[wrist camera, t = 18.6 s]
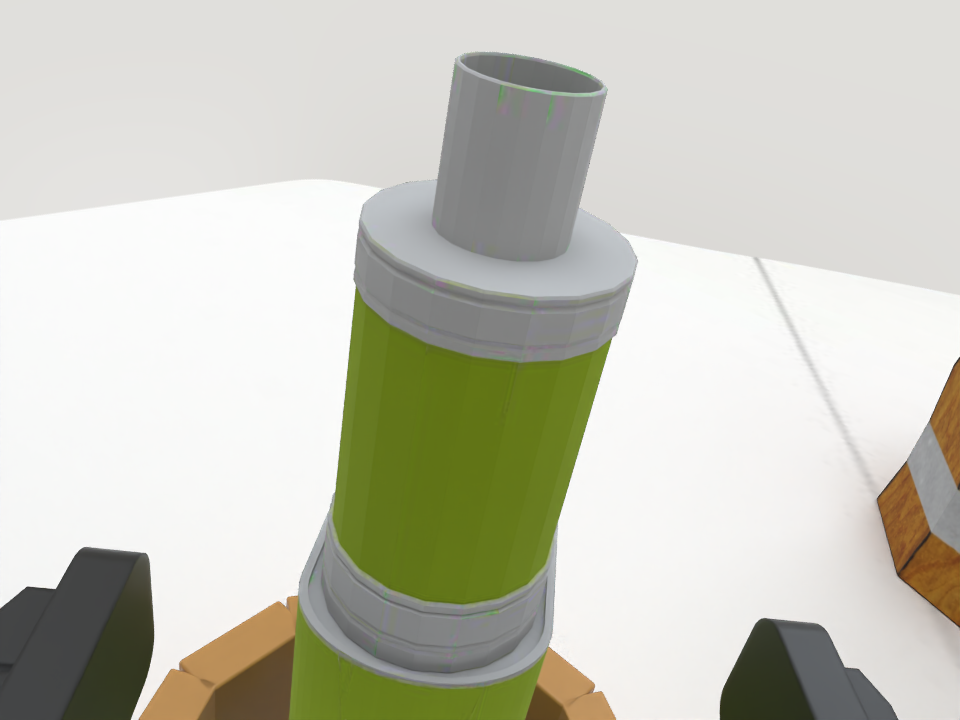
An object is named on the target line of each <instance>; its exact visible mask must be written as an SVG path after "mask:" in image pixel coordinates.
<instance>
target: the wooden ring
mask: <svg viewBox="0 0 960 720" xmlns="http://www.w3.org/2000/svg"><path fill="white" fill-rule="evenodd" d="M297 605H298V596H291V597H288V598H287V604H286V607H285V606H284V605H283V604H282V603H281V602H279V601H278V602H276V603H274V604H273V605H271V606H269V607H268V608H266V609H264V610H263V611H261V612H259V613H258V614H256V615H255V616H253V617H251V618H250V619H248V620H246V621H245V622H243V623H242V624H240V625H238V626H237V627H235V628H233V629H232V630H230V631H228V632H227V633H225V634H224V635H222V636H220V637H219V638H217V639H215V640H214V641H212V642H210V643H209V644H207V645H206V646H204V647H202V648H201V649H199V650H197V651H196V652H194V653H192V654H191V655H189V656H188V657H186V658H184V659H183V660H181V661H180V663H179V670H180V671H179V670H176V669H171V670H170V671H169V673H168V675H167V676H166V678H165V679H164V681H163V682H162V684H161V685H160V687H159V688H158V690H157V692H156V693H155V695H154V696H153V698H152V699H151V701H150V702H149V704H148V706H147V707H146V709H145V710H144V712H143V713H142V715H141V716H140V718H139V720H289V712H290V698H291V685H292V672H293V658H294V645H295V632H296V618H297ZM594 688H595V684H594V683H593V682H592V681H591V680H589V679H588V678H587V677H586V676H584V675H583V674H582V673H581V672H579V671H578V670H577V669H576V668H574V667H573V666H572V665H571V664H569V663H568V662H567V661H566V660H564V659H563V658H562V657H561V656H559V655H558V654H557V653H556V652H555V651H553V650H552V649H551V648H550V647H548V649H547V652H546V656H545V659H544V662H543V665H542V668H541V671H540V674H539V677H538V680H537V684H536V687H535V690H534V693H533V696H532V699H531V702H530V705H529V708H528V711H527V715H526V718H525V720H616V718H615V716H614V714H613V712H612V710H611V708H610V706H609V704H608V702H607V700H606V698H605V696H604V694H603V692H601V691H600V692H595V693H593V691H594Z"/></svg>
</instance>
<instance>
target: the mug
mask: <svg viewBox="0 0 960 720" xmlns="http://www.w3.org/2000/svg"><path fill="white" fill-rule="evenodd" d="M877 501H878V504H879V508H880V512H881V515H882V519H883V523H884V526H885V530H886V534H887V537H888V541H889V545H890V548H891V552H892V556H893V559H894V563H895V567H896V571H897V574H898V576H899V577H901V578H902V579H903V580H904V581H905V582H907V583H908V584H909V585H910V586H911V587H913V588H914V589H915V590H916V591H917V592H919V593H920V594H921V595H922V596H924V597H925V598H926V599H927V600H928V601H930V602H931V603H932V604H933V605H934V606H936V607H937V608H938V609H939V610H940V611H942V612H943V613H944V614H945V615H946V616H948V617H949V618H950V619H951V620H953V621H954V622H955V623H956V624H957V625H959V626H960V357H959V359H958V360H957V361H956V363H955V364H954V366H953V368H952V371H951V373H950V375H949V377H948V380H947V382H946V384H945V386H944V389H943V391H942V393H941V396H940V398H939V400H938V402H937V405H936V407H935V409H934V411H933V414H932V416H931V418H930V420H929V422H928V424H927V426H926V427H925V429H924V431H923V433H922V435H921V436H920V438H919V440H918V442H917V443H916V445H915V447H914V449H913V450H912V452H911V454H910V456H909V457H908V459H907V461H906V462H905V463H904V465H903V466H902V467H901V468H900V470H899V471H898V472H897V474H896V475H895V476H894V477H893V479H892V480H891V481H890V482H889V484H888V485H887V486H886V488H885V489H884V490H883V491H882V493H881V494H880V495H879V496H878V498H877Z"/></svg>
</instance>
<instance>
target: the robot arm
mask: <svg viewBox="0 0 960 720" xmlns="http://www.w3.org/2000/svg"><path fill="white" fill-rule="evenodd" d="M153 645H154V620H153V605H152V591H151V576H150V563H149V558H148V555H147V554H146V553H139V552H130V551H120V550H110V549H100V548H90V547H84V548H82V549H80V550H79V551H78V552H77V554H76V555H75V556H74V558H73V560H72V561H71V563H70V565H69V567H68V568H67V570H66V572H65V574H64V576H63V577H62V579H61V581H60V583H59V584H58V586H57V588H56V589H47V588H37V587H26V588H25V589H24V590H22V591H21V592H20V593H19V594H18V595H16V596H15V597H14V598H13V599H11V600H10V601H9V602H8V603H7V604H5V605H4V606H3V607H2V608H1V609H0V720H131V717H132V715H133V712H134V710H135V707H136V704H137V702H138V699H139V697H140V694H141V692H142V689H143V686H144V684H145V681H146V678H147V674H148V671H149V667H150V663H151V658H152V652H153ZM720 720H898V718H897V716H896V714H895V712H894V710H893V708H892V706H891V705H890V704H889V702H888V701H887V700H886V699H885V698H884V697H883V696H882V695H881V694H880V692H879V691H878V690H877V689H876V688H875V687H874V686H873V685H872V683H871V682H870V681H869V680H868V679H867V678H866V677H865V676H864V675H863V673H862V672H861V671H860V670H859V669H854V668H845V667H844V665H843V663H842V661H841V659H840V657H839V655H838V653H837V650H836V648H835V646H834V644H833V642H832V640H831V638H830V636H829V634H828V633H827V631H826V630H825V629H824V628H823V627H822V626H821V625H819V624H816V623H807V622H797V621H787V620H777V619H767V618H763V619H760V620H759V621H758V622H757V623H756V624H755V626H754V628H753V630H752V632H751V634H750V636H749V638H748V640H747V642H746V644H745V646H744V648H743V650H742V652H741V654H740V656H739V658H738V660H737V662H736V664H735V666H734V668H733V670H732V672H731V674H730V676H729V678H728V680H727V682H726V684H725V686H724V688H723V691H722V695H721V701H720Z"/></svg>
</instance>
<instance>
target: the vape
mask: <svg viewBox="0 0 960 720" xmlns="http://www.w3.org/2000/svg"><path fill="white" fill-rule="evenodd" d="M607 90H608V89H607V88H606V86H605V85H604V83H603V82H602V81H601V80H599V79H598V78H596V77H594V76H593V75H591V74H588V73H586V72H583V71H580V70H578V69H576V68H572V67H569V66H566V65H563V64H559V63H555V62H551V61H547V60H543V59H539V58H534V57H527V56H522V55H516V54H507V53H498V52H471V53H464V54H462V55H460V56H458V57H457V58H455V64H454V72H453V78H452V85H451V91H450V98H449V105H448V112H447V119H446V125H445V132H444V139H443V146H442V152H441V160H440V166H439V173H438V179H437V180H427V181H416V182H406V183H403V184H400V185H396V186H393V187H390V188H386V189H383V190H381V191H379V192H378V193H377V194H375V195H374V196H373V197H371V198H370V199H369V200H367V201H366V202H365V203H364V204H363V207H362V211H361V216H360V220H359V230H358V234H357V244H356V254H355V271H354V279H353V280H354V282H355V284H356V290H355V300H354V310H353V320H352V331H351V341H350V351H349V361H348V371H347V381H346V391H345V401H344V411H343V421H342V431H341V441H340V451H339V461H338V471H337V481H336V491H335V493H334V494H333V497H332V503H331V504H330V509H329V512H328V514H327V516H326V519H325V521H324V523H323V526H322V528H321V530H320V533H319V535H318V537H317V540H316V542H315V544H314V547H313V549H312V551H311V554H310V556H309V558H308V561H307V563H306V565H305V568H304V570H303V572H302V575H301V578H300V582H299V592H298V605H297V618H296V632H295V645H294V658H293V672H292V685H291V698H290V712H289V720H525V718H526V715H527V711H528V708H529V705H530V702H531V699H532V696H533V693H534V690H535V687H536V684H537V680H538V677H539V674H540V671H541V668H542V665H543V662H544V659H545V656H546V652H547V649H548V646H549V643H550V640H551V637H552V631H553V617H554V596H555V574H556V553H557V531H558V520H559V516H560V513H561V509H562V506H563V503H564V499H565V496H566V493H567V489H568V486H569V482H570V479H571V476H572V472H573V469H574V465H575V462H576V459H577V455H578V452H579V449H580V445H581V442H582V438H583V435H584V432H585V428H586V425H587V421H588V418H589V415H590V411H591V408H592V405H593V401H594V398H595V394H596V391H597V388H598V384H599V381H600V377H601V374H602V371H603V367H604V364H605V361H606V357H607V354H608V350H609V347H610V344H611V340H612V337H614V336H615V335H616V334H617V331H618V327H619V324H620V321H621V319H622V315H623V312H624V309H625V305H626V302H627V299H628V295H629V292H630V288H631V285H632V282H633V278H634V275H635V270H636V267H637V263H638V260H637V257H636V255H635V253H634V251H633V249H632V247H631V245H630V243H629V241H628V240H627V239H626V238H625V237H623V236H622V235H621V234H620V233H619V232H618V231H616V229H614V228H613V227H612V226H611V225H610V224H608V223H606V222H605V221H603V220H601V219H599V218H597V217H596V216H594V215H592V214H590V213H589V212H587V211H585V210H583V209H581V208H579V204H580V200H581V196H582V192H583V188H584V184H585V180H586V176H587V172H588V168H589V164H590V159H591V155H592V151H593V147H594V143H595V139H596V135H597V131H598V127H599V123H600V119H601V115H602V111H603V106H604V102H605V99H606V95H607Z"/></svg>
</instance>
